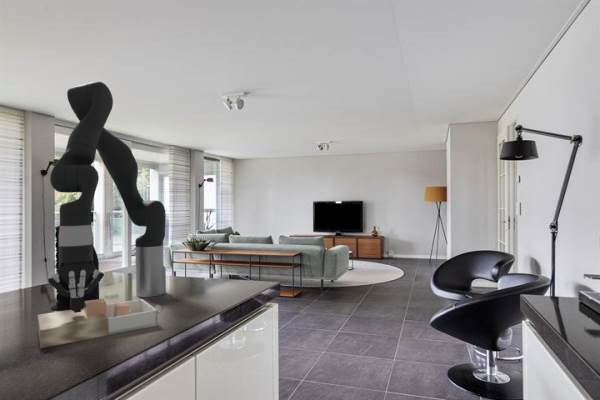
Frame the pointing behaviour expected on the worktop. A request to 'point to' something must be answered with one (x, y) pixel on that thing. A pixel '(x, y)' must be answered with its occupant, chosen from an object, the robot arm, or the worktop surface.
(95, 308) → the tile
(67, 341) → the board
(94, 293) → the wine bottle
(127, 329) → the tray
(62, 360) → the worktop surface
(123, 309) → the tile
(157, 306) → the chef's knife
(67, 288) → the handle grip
